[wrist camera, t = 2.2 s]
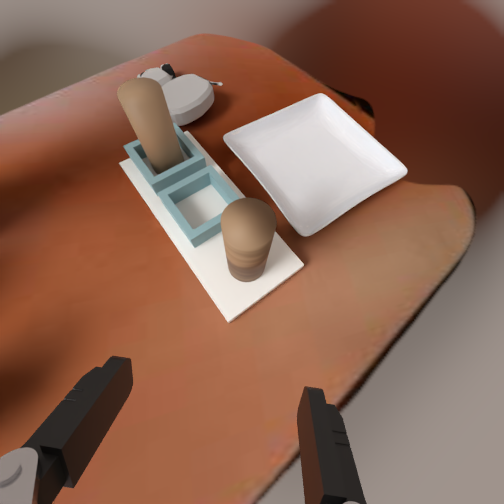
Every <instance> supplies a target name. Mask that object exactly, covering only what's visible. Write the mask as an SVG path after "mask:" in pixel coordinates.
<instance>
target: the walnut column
mask: <svg viewBox="0 0 504 504" xmlns="http://www.w3.org/2000/svg"><path fill="white" fill-rule="evenodd" d="M276 225H277V220H276V215H275V213H274V211H273V210H272V208H271V207H270V206H269V205H268V204H266V203H265V202H263V201H261V200H259V199H256V198H241V199H237V200H235V201H233V202H231V203H230V204H229V205H228V206H227V207H226V208H225V209H224V211H223V213H222V215H221V229H222V235H223V241H224V247H225V252H226V258H227V264H228V269H229V272H230V274H231V275H232V276H233V277H234V278H235V279H237V280H239V281H241V282H252V281H255V280H257V279H258V278H259V277H260V276H261V275H262V274H263V272H264V269H265V266H266V262H267V259H268V255H269V251H270V248H271V244H272V241H273V237H274V233H275V230H276Z"/></svg>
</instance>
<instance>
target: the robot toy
mask: <svg viewBox="0 0 504 504" xmlns="http://www.w3.org/2000/svg"><path fill="white" fill-rule="evenodd" d="M145 71H146V72H143V73H142V74H141V75H138V76H137V78H140V77H144V78H151V79H153V80H156V81H157V82H158V83H159V84H160V85H161V87H162V90H163V93H164V96H165V99H166V103H167V106H168V109H169V112H170V116H171V119H172V122H173V123H176V124H177V126H183V125H186V124H188V123H191V122H193V121H194V120H196V119H198V118H199V117H201V116H202V115H203V114H204V113H205V112H206V111H207V110H208V109H209V108H210V107H211V105H212V104H213V102H214V93H213V87H212V84H213V85H219V86H222V85H223V84H222V83H221V82H219V83H217V82H209V81H208V80H206V79H204V78H202V77H200V76H197V75H195V74H187V75H182V76H180V77H177V78H176V76H175V73H174V71H173V69H172V67H171V66H170V64H168V63H167V64H164V65H161V69H160V68H151V69H147V70H145Z"/></svg>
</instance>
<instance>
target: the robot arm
mask: <svg viewBox="0 0 504 504" xmlns="http://www.w3.org/2000/svg"><path fill="white" fill-rule="evenodd" d="M132 386H133V375H132V365H131V359H130V358H125V357H118V356H112V357H110V358H109V359H108V361H107V362H106V363H105V364H104V366H103V367H102V368H101V367H95V368H94V369H92V370H91V371H90V372H88V373H87V374H85V375H84V376H83V377H82V378H81V379H80V380H79V381H78V383H77V384H76V385H75V386H74V387H73V389H72V390H71V391H70V392H69V393H68V394H67V395H66V397H65V398H64V400H63V401H61V402H60V404H59V405H58V406H57V407H56V408H55V409H54V411H53V412H52V413H51V414H50V415H49V416H48V418H47V419H46V420H45V421H44V422H43V423H42V425H41V426H40V427H39V428H38V429H37V430H36V432H35V433H34V434H33V435H32V436H31V437H30V439H29V440H28V441H27V442H26V443H25V444H24V445H23V446H22V447H21V448H19V449H16V450H13V451H11V452H9V453H7V454H5V455H4V456H2V457H1V458H0V504H55V498H56V496H57V495H58V493H59V492H60V490H61V489H62V487H63V486H64V487H69V488H74V487H75V485H76V484H77V482H78V480H79V479H80V477H81V475H82V474H83V472H84V470H85V469H86V467H87V465H88V463H89V462H90V460H91V458H92V457H93V455H94V453H95V452H96V450H97V448H98V447H99V445H100V443H101V442H102V440H103V438H104V437H105V435H106V433H107V432H108V430H109V428H110V427H111V425H112V423H113V422H114V420H115V418H116V416H117V415H118V413H119V411H120V410H121V408H122V406H123V405H124V403H125V401H126V400H127V398H128V396H129V394H130V392H131V389H132ZM297 426H298V436H299V446H300V456H301V466H302V476H303V486H304V496H305V504H366V501H365V498H364V495H363V491H362V487H361V484H360V480H359V476H358V473H357V469H356V465H355V462H354V458H353V455H352V451H351V448H350V444H349V440H348V437H347V435H346V429H345V425H344V422H343V418H342V416H341V415H340V413H339V412H338V410H337V408H336V407H335V405H331V404H326V400H325V396H324V392H323V390H322V389H319V388H313V387H306V386H305V387H304V390H303V394H302V397H301V400H300V404H299V407H298V413H297Z"/></svg>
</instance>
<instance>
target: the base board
mask: <svg viewBox="0 0 504 504" xmlns="http://www.w3.org/2000/svg"><path fill="white" fill-rule="evenodd" d="M117 97H118V99H119V101H120V103H121V105H122V107H123V109H124V111H125V113H126V115H127V117H128V119H129V121H130V123H131V125H132V127H133V129H134V131H135V133H136V135H137V137H138V140H135V141H133V142H131V143H129V144H127V145H124V146H123V147H124V148H125V150H126V152H127V153H128V155H129V157H130V158H129V159H126V160H124V161H122V162H120V163H119V164H120V165H121V167H122V168H123V170H124V171H125V173H126V174H127V176H128V177H129V179H130V180H131V182H132V183H133V184H134V186H135V187H136V189H137V190H138V192H139V193H140V195H141V196H142V198H143V199H144V201H145V202H146V203H147V205H148V206H149V208H150V209H151V211H152V212H153V214H154V215H155V217H156V218H157V219H158V221H159V222H160V224H161V225H162V227H163V228H164V230H165V231H166V233H167V234H168V236H169V237H170V238H171V240H172V241H173V243H174V244H175V246H176V247H177V249H178V250H179V252H180V253H181V254H182V256H183V257H184V259H185V260H186V262H187V263H188V265H189V266H190V268H191V269H192V271H193V272H194V273H195V275H196V276H197V278H198V279H199V281H200V282H201V284H202V285H203V287H204V288H205V289H206V291H207V292H208V294H209V295H210V297H211V298H212V300H213V301H214V303H215V304H216V306H217V307H218V308H219V310H220V311H221V313H222V314H223V316H224V317H225V319H226V320H227V322H228V323H230V322H231V321H233V320H234V319H235V318H237V317H238V316H239V315H241V314H242V313H243V312H245V311H246V310H247V309H249V308H250V307H251V306H253V305H254V304H255V303H257V302H258V301H259V300H260V299H262V298H263V297H264V296H266V295H267V294H268V293H270V292H271V291H272V290H274V289H275V288H276V287H278V286H279V285H280V284H282V283H283V282H284V281H286V280H287V279H288V278H290V277H291V276H292V275H294V274H295V273H296V272H298V271H299V270H300V269H302V267H303V266H304V264H303V263H302V262H301V260H300V259H299V258H298V257H297V256H296V255H295V253H294V252H293V251H292V250H291V249H290V248H289V247H288V245H287V244H286V243H285V242H284V241H283V240H282V239H281V237H280V236H279V235H278V234H277V233H276V232H275V233H274V237H273V241H272V244H271V248H270V251H269V255H268V259H267V262H266V266H265V269H264V272H263V274H262V275H261V276H260V277H259V278H258V279H257V280H255V281H252V282H241V281H239V280H237V279H235V278H234V277H233V276H232V275H231V274H230V272H229V269H228V264H227V258H226V252H225V247H224V241H223V235H222V229H221V215H222V213H223V211H224V209H225V208H226V207H227V206H228V205H229V204H230V203H231V202H233V201H235V200H237V199H241V198H246V197H245V196H244V195H243V194H242V192H241V191H240V190H239V189H238V188H237V187H236V186H235V184H234V183H233V182H232V181H231V180H230V179H229V178H228V176H227V175H226V174H225V173H224V172H223V171H222V169H221V168H220V167H219V166H218V165H217V164H216V163H215V161H214V160H213V159H212V158H211V157H210V156H209V155H208V153H207V152H206V151H205V150H204V149H203V148H202V146H201V145H200V144H199V143H198V142H197V141H196V140H195V138H194V137H193V136H192V135H191V134H190V133H189V132H188V131H186V132H184V133H183V131H182V130H181V129H180V128H179V127H178V126H177V124H176V123H173V122H172V119H171V116H170V112H169V109H168V106H167V103H166V99H165V96H164V93H163V90H162V87H161V85H160V84H159V83H158V82H157V81H156V80H153V79H151V78H144V77H140V78H134V79H130V80H128V81H126V82H124V83H123V84H122V85H121V86H120V87H119V89H118V91H117Z"/></svg>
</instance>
